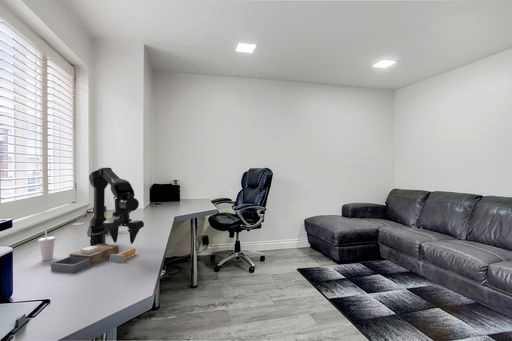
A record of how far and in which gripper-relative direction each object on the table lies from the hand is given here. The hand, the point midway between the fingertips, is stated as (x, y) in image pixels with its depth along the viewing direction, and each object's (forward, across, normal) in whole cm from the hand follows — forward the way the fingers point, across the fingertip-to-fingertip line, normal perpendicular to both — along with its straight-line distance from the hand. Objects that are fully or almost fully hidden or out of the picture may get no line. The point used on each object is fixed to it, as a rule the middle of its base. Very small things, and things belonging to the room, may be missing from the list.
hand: (123, 243), depth 118 cm
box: (+7, -14, -14) cm, 21 cm away
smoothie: (+7, -36, -8) cm, 37 cm away
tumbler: (+7, -50, +34) cm, 61 cm away
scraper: (+7, 0, 0) cm, 7 cm away
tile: (+3, -14, -5) cm, 15 cm away
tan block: (+7, -14, -2) cm, 16 cm away
